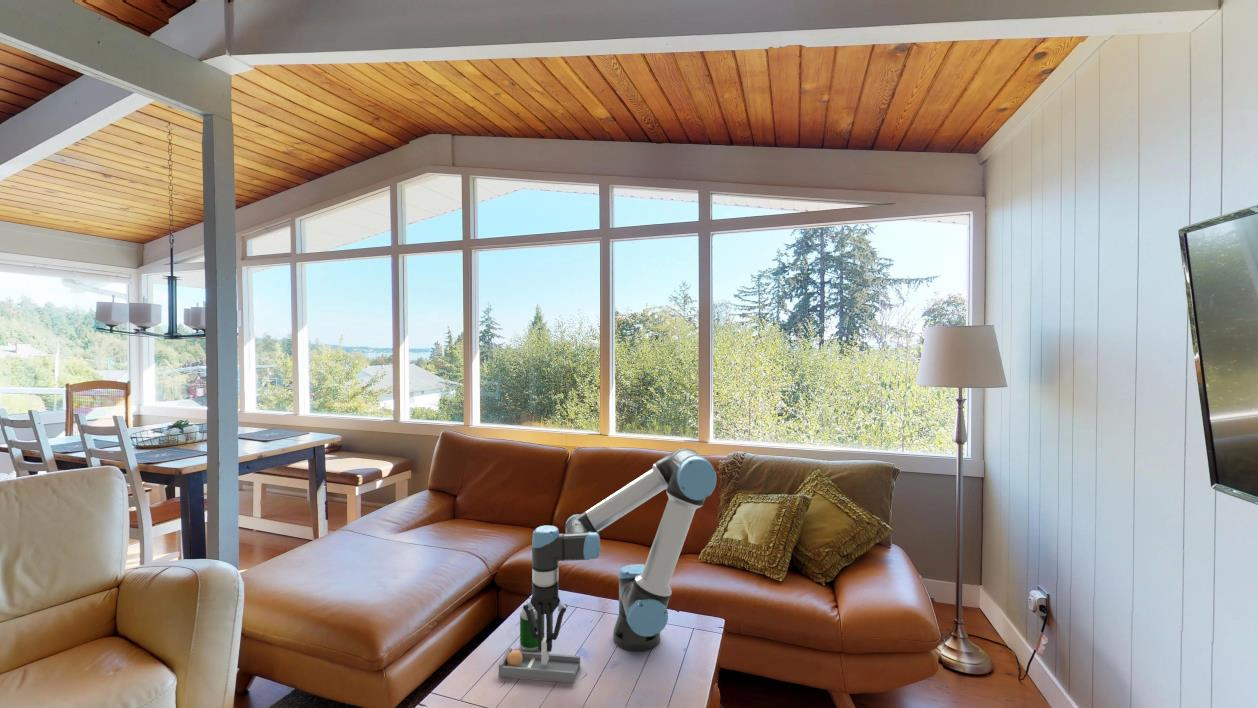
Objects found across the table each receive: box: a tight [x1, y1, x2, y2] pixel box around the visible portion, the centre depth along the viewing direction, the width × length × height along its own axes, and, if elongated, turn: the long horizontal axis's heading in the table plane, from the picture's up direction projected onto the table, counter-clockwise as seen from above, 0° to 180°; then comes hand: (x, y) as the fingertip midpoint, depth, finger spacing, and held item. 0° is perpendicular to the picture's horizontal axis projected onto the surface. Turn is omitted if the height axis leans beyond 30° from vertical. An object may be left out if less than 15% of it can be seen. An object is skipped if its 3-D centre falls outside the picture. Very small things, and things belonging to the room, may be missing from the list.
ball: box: [507, 649, 523, 667], centre depth 158 cm, size 4×4×4 cm
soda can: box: [519, 605, 539, 653], centre depth 169 cm, size 8×8×12 cm
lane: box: [498, 647, 581, 684], centre depth 157 cm, size 22×8×4 cm, turn 83°
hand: (545, 661), depth 157 cm, fingers closed
